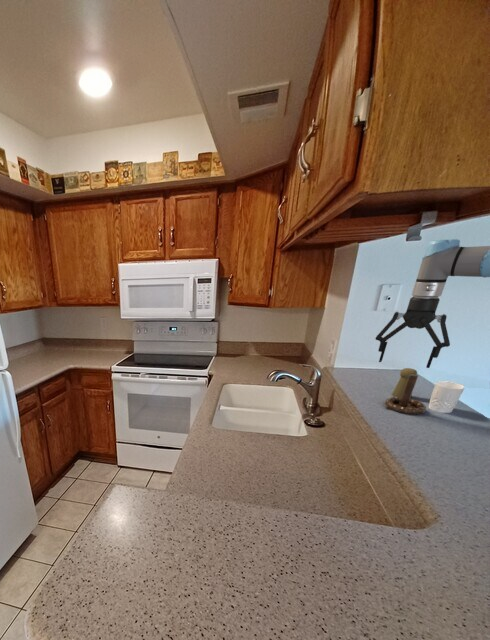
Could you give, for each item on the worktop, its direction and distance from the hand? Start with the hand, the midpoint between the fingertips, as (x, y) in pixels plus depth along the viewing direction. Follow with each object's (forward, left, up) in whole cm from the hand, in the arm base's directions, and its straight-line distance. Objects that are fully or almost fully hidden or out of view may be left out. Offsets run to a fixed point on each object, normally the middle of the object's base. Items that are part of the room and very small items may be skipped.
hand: (403, 364), depth 112 cm
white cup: (-15, -7, -17) cm, 24 cm away
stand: (-4, 0, -17) cm, 17 cm away
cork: (-3, -17, -17) cm, 24 cm away
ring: (-4, 0, -14) cm, 15 cm away
